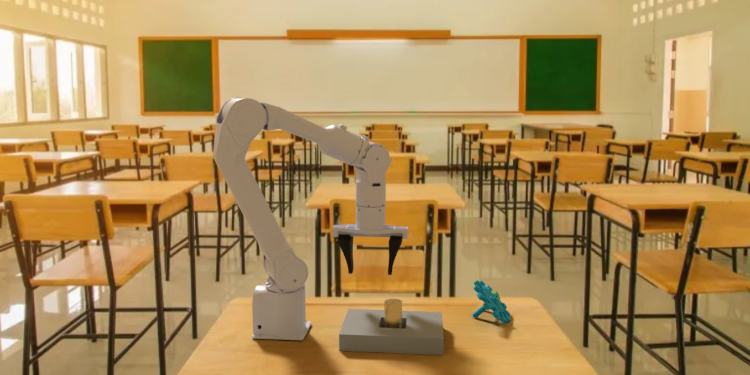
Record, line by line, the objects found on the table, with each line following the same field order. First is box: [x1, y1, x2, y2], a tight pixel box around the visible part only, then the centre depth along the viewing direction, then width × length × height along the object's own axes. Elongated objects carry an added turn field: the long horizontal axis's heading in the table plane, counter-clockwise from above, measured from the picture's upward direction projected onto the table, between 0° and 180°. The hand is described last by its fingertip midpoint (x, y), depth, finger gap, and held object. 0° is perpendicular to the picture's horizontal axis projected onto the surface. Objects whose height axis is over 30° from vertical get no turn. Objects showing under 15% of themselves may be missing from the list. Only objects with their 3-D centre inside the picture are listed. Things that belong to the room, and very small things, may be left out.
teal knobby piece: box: [471, 280, 512, 324], centre depth 117 cm, size 11×6×10 cm
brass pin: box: [383, 298, 403, 328], centre depth 107 cm, size 3×3×7 cm
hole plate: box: [338, 308, 445, 356], centre depth 107 cm, size 18×12×3 cm, turn 85°
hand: (370, 272), depth 115 cm, fingers open, 7 cm apart
